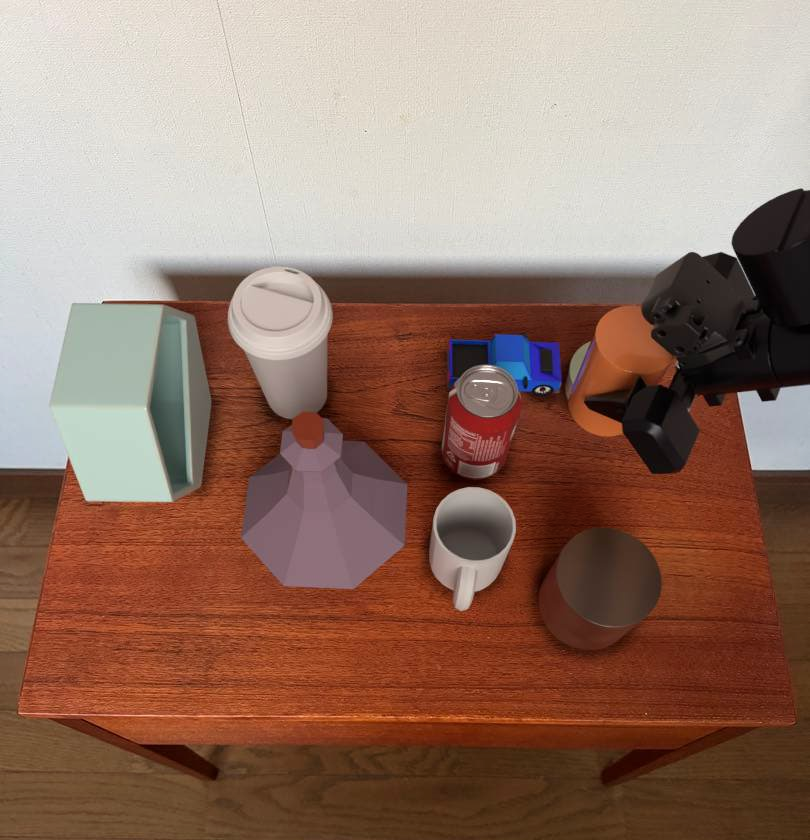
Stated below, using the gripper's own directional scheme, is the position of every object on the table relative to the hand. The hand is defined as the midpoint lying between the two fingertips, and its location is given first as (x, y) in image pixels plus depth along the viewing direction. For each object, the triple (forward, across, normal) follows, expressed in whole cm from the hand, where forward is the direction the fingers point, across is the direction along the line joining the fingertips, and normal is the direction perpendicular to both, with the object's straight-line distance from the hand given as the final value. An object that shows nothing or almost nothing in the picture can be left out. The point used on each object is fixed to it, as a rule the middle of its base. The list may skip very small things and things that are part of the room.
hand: (601, 373), depth 64 cm
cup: (+12, +18, +7) cm, 23 cm away
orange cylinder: (+2, 0, +4) cm, 4 cm away
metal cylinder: (+4, +15, +15) cm, 22 cm away
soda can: (+16, +5, +4) cm, 17 cm away
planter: (+36, +20, -16) cm, 44 cm away
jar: (+9, -9, +10) cm, 16 cm away
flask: (+22, +20, -3) cm, 30 cm away
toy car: (+17, -5, +3) cm, 18 cm away
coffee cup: (+30, +8, -10) cm, 33 cm away
